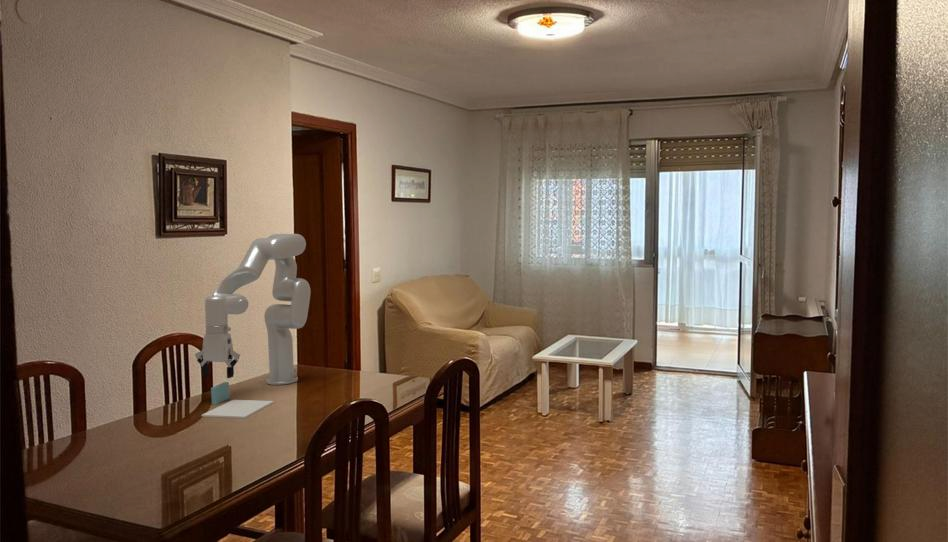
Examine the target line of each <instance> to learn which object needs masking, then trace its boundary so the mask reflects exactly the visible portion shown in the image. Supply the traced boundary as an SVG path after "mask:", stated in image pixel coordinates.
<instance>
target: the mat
mask: <svg viewBox="0 0 948 542" xmlns="http://www.w3.org/2000/svg"><path fill="white" fill-rule="evenodd" d="M274 403H275V401H273V400H253V399H252V400H250V399H247V400H246V399H232V400H229V401H227V402H225V403H224V404H221V405H219V406H217V407H215V408H213V409H211V410H208V411H207V412H205V413H202V414H201V417H203V418H225V419H226V418H227V419H230V418H231V419H246V418H249V417H250V416H252V415H254V414H256V413H257V412H260V411H262V410H263V409H265V408H267V407H268V406H270V405H273V404H274Z"/></svg>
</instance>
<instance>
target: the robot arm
mask: <svg viewBox="0 0 948 542" xmlns="http://www.w3.org/2000/svg"><path fill="white" fill-rule="evenodd" d="M306 246H307V242H306V239H305V237H304V236H303V235H301V234H299V233H276V234H272V235H269V236H268V237H261V238H260V237H259V238H255V240H253V241H252V242H251V244H250V246H249V247H248V249H247V250H246V254H245V255H244V257H243V259H242V261H241V263H240V264H239V266H238V267H237V268H236V269H234V271H232V272H230V273H229V274H227V276H225V277H224V279H222V280H221V281H220V283H219V284H218V285H217V287H216V288H215V290H214V292H213V294H212V296H211V295H210V296H207V297H206V298H205V300H204V312H205V313H204V314H205V315H204V316H205V317H204V318H205V333H204V336H203V341H202V348H201V349H202V350H200V351H198V352H195V354H194V356H195V359H197V360H196V361H197V363H199V365H200V367H201V374H202V378H206V377H210V365H209V363H210V362H212V363H225V364H226V366H227V367H226V379H231V378H233V377H234V374H235V372H234V367H235V366H236V364H237V363H239V360H240V357H241V355H240V353H238V352H236V351H235V350H234V346H233V339H232V336H231V333H230V331H231V327H229V325H228V320H229V319H228V315H241V314H244V313H245V312H246V311H247V309H248V308H249V301H248V298H247V297H246V296H244V295H243V294H238V293H235V292H236V291H238V290H239V289H240V288H242V287H244V286H246V285H249V284H251V283H254V282H255V281H257V280H258V279H259V278H260V277H261V275H262V273H263V271H264V269H265V267H266V266H267V263H268V262H269V261H274V262H275V263H274V264H275V271H274V276H273V277H274V278H273V284H272V291H271V292H272V297H273V299H274V300H276V301H279V302H290V304H285V303H284V304H283V303H277V304H272V305H269V306H268V307H267V308H266V309H265V312H264V315H263V316H264V323H265V326H266V331H267V344H268V349H267V350H268V368H269V377H268V378H266V380H265V383H266V384H267V385H272V386H277V385H278V386H279V385H280V386H282V385H283V386H284V385H289V384H294V383H296V382H298V380H299V378H298V376H296V375H295V373H297V371H298V368H297V367H294V345H293V335H292V333H291V330H290V329H293V330H298V329H302V328H303V327H304V326H305V324H306V322H307V319H308V313H309V309H310V300H311V292H312V291H311V287H310V286H311V285H310V284H309V281H307V280H306V279H304V278H300V277H297V271H298V265H297V262H296V260H295V258H294V257H296V256H297V257H298V256H299V255H301V254H303V253H304V251H305V250H306Z"/></svg>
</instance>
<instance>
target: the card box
mask: <svg viewBox="0 0 948 542" xmlns="http://www.w3.org/2000/svg"><path fill="white" fill-rule="evenodd" d="M210 393H211V394H210V395H211V396H210V397H211V405H218V404H219V403H221V402H224V401H226V400H229V399H230V383H229V381H228V382H227V381H224V382H221V383H219V384H217V385H215V386H212V387H210Z"/></svg>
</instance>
